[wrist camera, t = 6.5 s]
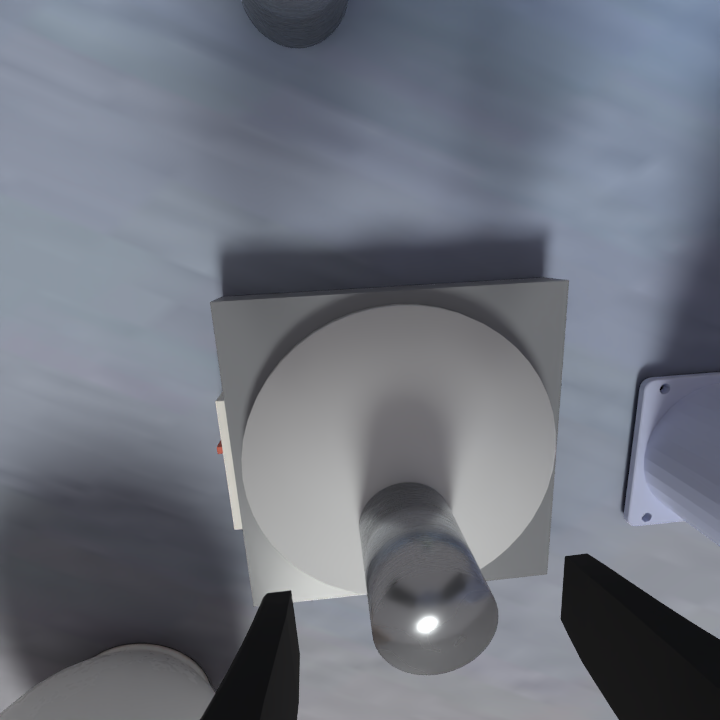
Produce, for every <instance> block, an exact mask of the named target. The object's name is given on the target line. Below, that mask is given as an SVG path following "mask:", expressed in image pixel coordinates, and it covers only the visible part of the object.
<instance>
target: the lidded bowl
mask: <svg viewBox="0 0 720 720" xmlns="http://www.w3.org/2000/svg"><path fill="white" fill-rule="evenodd" d="M214 695H215V691H214V690H213V688H212V687H211V686H210V683H209V680H208V678H207V676H206V674H205V673H204V671H203V670H202V669H201V668H200V667H199V665H198V664H197V663H196V662H194V661H193V660H192V659H190V658H189V657H188V656H186V655H184V654H182V653H181V652H179V651H176V650H174V649H171V648H168V647H164V646H160V645H155V644H138V643H136V644H127V645H122V646H118V647H114V648H111V649H108V650H106V651H103V652H102V653H100V654H98V655H96V656H95V657H93V658H90V659H88V660H85V661H82V662H80V663H77V664H75V665H72V666H70V667H67V668H65V669H63V670H61V671H59V672H58V673H56V674H54V675H52V676H51V677H49V678H47V679H45V680H44V681H42V682H40V683H39V684H37V685H35V686H34V687H33V688H31V689H30V690H29V691H28V692H26V693H25V694H24V695H23V696H21V697H20V698H19V699H18V700H16V701H15V702H14V703H13V704H11V705H10V706H9V707H7V708H6V709H5V710H4V711H2V712H1V713H0V720H200V719H201V717H202V715H203V714H204V712H205V710H206V709H207V707H208V705H209V704H210V702H211V700H212V698H213V697H214Z"/></svg>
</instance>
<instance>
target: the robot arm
mask: <svg viewBox="0 0 720 720" xmlns="http://www.w3.org/2000/svg"><path fill="white" fill-rule="evenodd" d="M663 384H664V387H663V389H662V390H661V391H660V387H661V386H662V385H663ZM644 514H645V515H644ZM643 515H644V516H643ZM624 519H625V520H626V521H627V522H628V523H629V524H630V525H632V526H642V525H651V524H661V523H670V522H680V521H686V522H687V523H689V524H690V525H691V526H693V527H694V528H695V529H697V530H698V531H699V532H701V533H702V534H704V535H705V536H706V537H708V538H709V539H710V540H712V541H713V542H714V543H716V544H717V545H718V546H720V372H713V373H700V374H687V375H675V376H662V377H650V378H647V379H645V380H644V381H643V382H642V383H641V385H640V389H639V397H638V405H637V413H636V421H635V429H634V437H633V445H632V453H631V461H630V469H629V477H628V485H627V493H626V501H625V509H624ZM561 621H562V623H563V625H564V627H565V629H566V631H567V633H568V635H569V637H570V639H571V641H572V643H573V645H574V647H575V649H576V651H577V653H578V655H579V657H580V659H581V661H582V662H583V664H584V666H585V667H586V669H587V670H588V672H589V674H590V675H591V677H592V678H593V680H594V682H595V683H596V685H597V686H598V688H599V689H600V691H601V693H602V694H603V696H604V697H605V699H606V700H607V702H608V704H609V705H610V707H611V708H612V710H613V711H614V713H615V714H616V716H617V717H618V719H619V720H720V639H718V638H716V637H715V636H713V635H711V634H710V633H708V632H706V631H705V630H703V629H701V628H700V627H698V626H697V625H695V624H694V623H692V622H690V621H689V620H687V619H686V618H684V617H682V616H681V615H679V614H678V613H676V612H675V611H673V610H672V609H670V608H669V607H667V606H665V605H664V604H662V603H661V602H659V601H658V600H656V599H655V598H653V597H652V596H650V595H649V594H647V593H646V592H644V591H643V590H641V589H640V588H638V587H637V586H635V585H634V584H632V583H631V582H629V581H628V580H626V579H625V578H624V577H622V576H621V575H619V574H618V573H616V572H615V571H613V570H612V569H610V568H609V567H607V566H606V565H604V564H603V563H601V562H600V561H598V560H597V559H595V558H593V557H592V556H590V555H589V554H580V555H572V556H565V564H564V578H563V593H562V607H561ZM299 665H300V652H299V645H298V637H297V630H296V623H295V615H294V608H293V600H292V593H291V590H289V591H280V592H272V593H267V594H266V595H265V596H264V597H263V599H262V601H261V604H260V606H259V609H258V611H257V613H256V615H255V618H254V620H253V622H252V624H251V626H250V629H249V631H248V633H247V635H246V637H245V639H244V641H243V643H242V645H241V647H240V649H239V651H238V653H237V655H236V657H235V659H234V660H233V662H232V664H231V666H230V668H229V670H228V672H227V674H226V676H225V677H224V679H223V681H222V683H221V685H220V686H219V688H218V690H217V692H216V693H215V695H214V697H213V698H212V700H211V702H210V704H209V705H208V707H207V709H206V710H205V712H204V714H203V715H202V717H201V719H200V720H297V713H298V704H299Z"/></svg>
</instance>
